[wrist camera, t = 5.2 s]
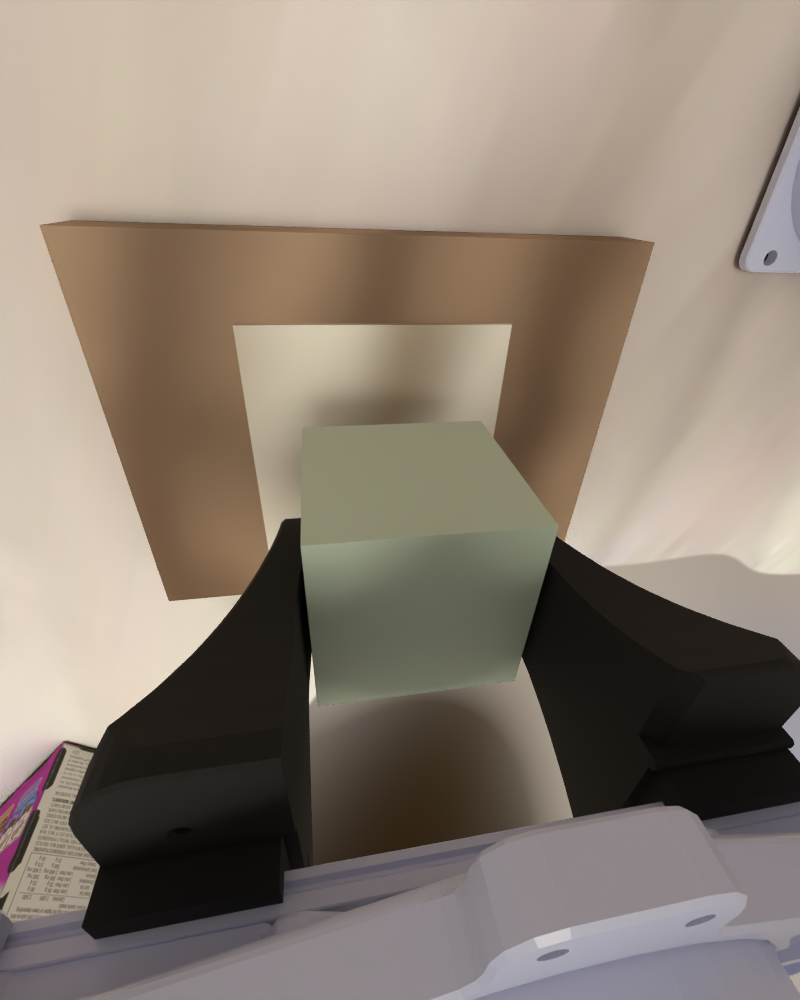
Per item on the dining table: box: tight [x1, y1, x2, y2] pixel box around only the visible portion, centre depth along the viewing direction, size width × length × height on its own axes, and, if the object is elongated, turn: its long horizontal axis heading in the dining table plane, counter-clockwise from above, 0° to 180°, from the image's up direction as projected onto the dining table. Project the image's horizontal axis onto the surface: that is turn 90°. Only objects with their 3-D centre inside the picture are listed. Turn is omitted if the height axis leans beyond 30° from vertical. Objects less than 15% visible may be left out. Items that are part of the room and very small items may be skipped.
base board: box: [40, 220, 654, 601], centre depth 18 cm, size 18×14×2 cm
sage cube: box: [300, 421, 559, 707], centre depth 12 cm, size 5×5×5 cm
